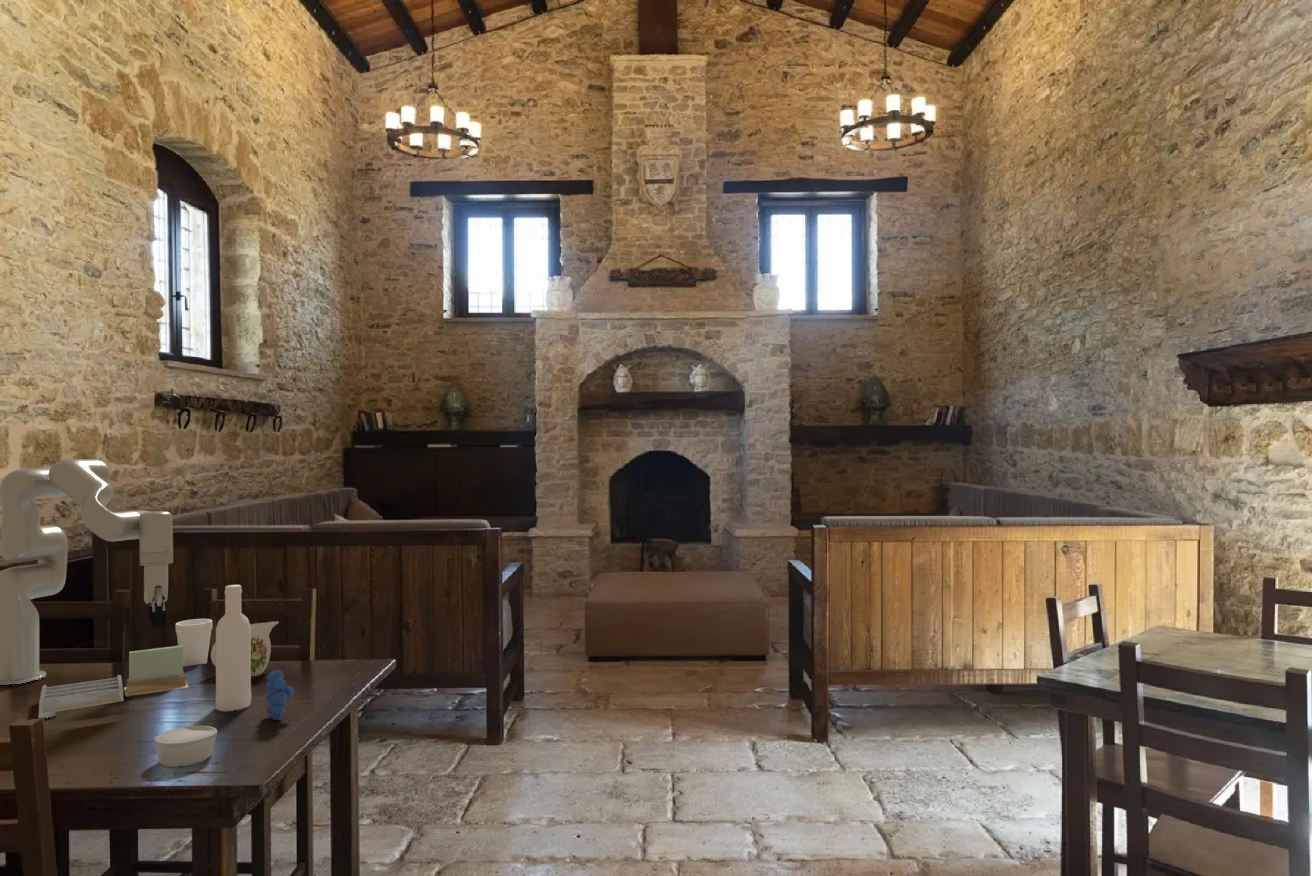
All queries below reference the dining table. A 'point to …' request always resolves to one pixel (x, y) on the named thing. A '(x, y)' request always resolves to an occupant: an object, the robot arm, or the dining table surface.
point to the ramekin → (185, 745)
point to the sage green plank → (155, 663)
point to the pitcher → (256, 647)
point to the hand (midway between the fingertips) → (157, 623)
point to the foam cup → (194, 640)
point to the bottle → (233, 655)
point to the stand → (155, 685)
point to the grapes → (277, 694)
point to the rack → (79, 695)
